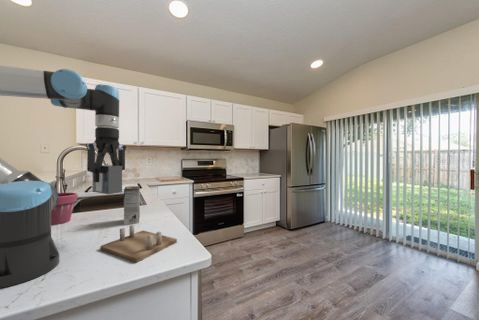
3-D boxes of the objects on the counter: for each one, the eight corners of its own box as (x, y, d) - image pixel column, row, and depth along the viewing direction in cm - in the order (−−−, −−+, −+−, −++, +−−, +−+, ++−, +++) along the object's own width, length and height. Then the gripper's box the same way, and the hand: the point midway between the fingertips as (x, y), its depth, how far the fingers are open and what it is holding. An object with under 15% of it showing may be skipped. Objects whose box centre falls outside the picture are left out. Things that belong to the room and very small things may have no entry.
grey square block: (108, 194, 72) (108, 166, 72) (92, 191, 76) (92, 165, 76) (122, 192, 76) (122, 165, 76) (106, 190, 81) (106, 165, 81)
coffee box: (125, 219, 99) (125, 186, 99) (139, 217, 102) (139, 185, 102) (123, 225, 91) (123, 189, 91) (139, 223, 93) (139, 188, 93)
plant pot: (73, 215, 104) (73, 191, 104) (80, 221, 95) (80, 194, 95) (33, 222, 93) (33, 194, 93) (38, 229, 84) (38, 199, 84)
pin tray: (136, 262, 59) (136, 244, 59) (100, 249, 67) (100, 233, 67) (176, 242, 73) (176, 227, 73) (142, 233, 81) (142, 220, 81)
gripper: (85, 123, 66) (85, 194, 66) (135, 130, 82) (135, 187, 83) (73, 125, 70) (73, 192, 70) (124, 131, 86) (123, 186, 86)
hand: (107, 189), depth 76 cm, fingers closed on grey square block, 5 cm apart
